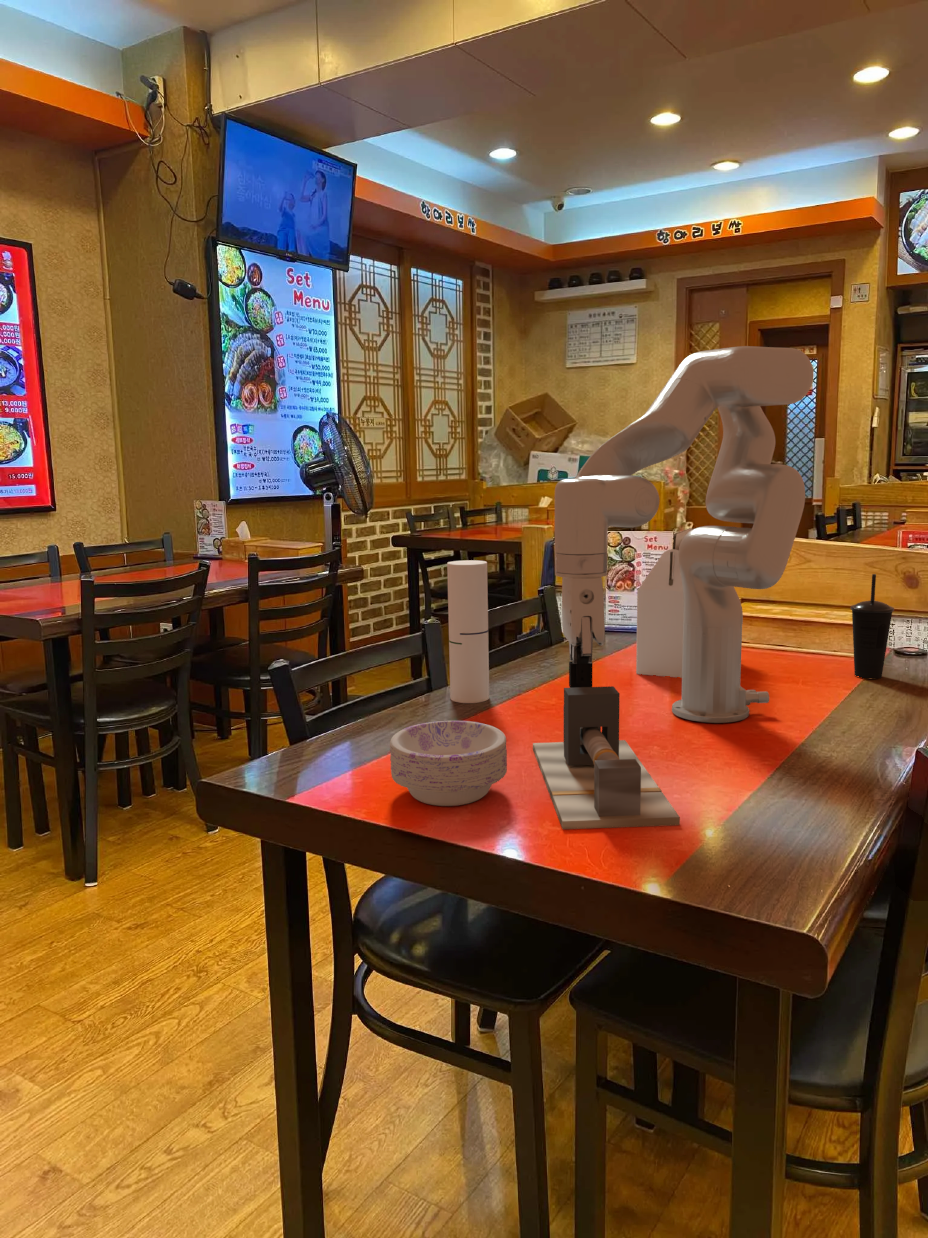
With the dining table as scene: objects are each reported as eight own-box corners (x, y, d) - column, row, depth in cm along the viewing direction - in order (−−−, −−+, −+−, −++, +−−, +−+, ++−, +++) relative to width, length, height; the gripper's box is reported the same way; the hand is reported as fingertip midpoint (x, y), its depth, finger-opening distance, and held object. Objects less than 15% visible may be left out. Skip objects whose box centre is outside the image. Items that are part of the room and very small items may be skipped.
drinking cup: (892, 674, 178) (898, 572, 175) (886, 682, 172) (893, 577, 169) (850, 670, 182) (856, 571, 179) (843, 678, 176) (849, 575, 173)
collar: (563, 756, 129) (563, 687, 127) (612, 754, 129) (613, 686, 128) (568, 765, 125) (568, 695, 123) (618, 764, 126) (619, 693, 124)
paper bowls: (415, 824, 110) (413, 761, 109) (376, 784, 124) (374, 728, 122) (527, 803, 116) (527, 743, 115) (478, 767, 130) (477, 714, 128)
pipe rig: (532, 749, 137) (532, 704, 136) (625, 746, 138) (625, 701, 136) (562, 829, 108) (562, 772, 106) (679, 825, 108) (680, 768, 107)
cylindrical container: (485, 703, 163) (483, 564, 159) (446, 702, 165) (443, 564, 160) (492, 693, 170) (490, 560, 166) (454, 692, 172) (451, 560, 167)
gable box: (702, 680, 177) (706, 536, 172) (635, 674, 183) (637, 535, 178) (722, 657, 197) (726, 527, 192) (661, 652, 202) (663, 526, 198)
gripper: (617, 570, 124) (616, 701, 127) (597, 558, 139) (596, 676, 142) (562, 571, 124) (562, 702, 127) (548, 559, 138) (548, 677, 142)
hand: (580, 688), depth 134 cm, fingers closed
